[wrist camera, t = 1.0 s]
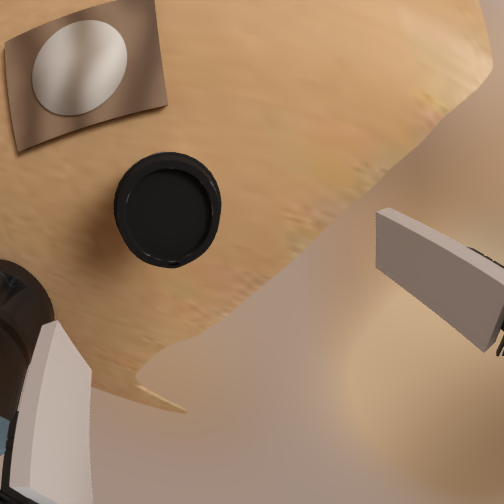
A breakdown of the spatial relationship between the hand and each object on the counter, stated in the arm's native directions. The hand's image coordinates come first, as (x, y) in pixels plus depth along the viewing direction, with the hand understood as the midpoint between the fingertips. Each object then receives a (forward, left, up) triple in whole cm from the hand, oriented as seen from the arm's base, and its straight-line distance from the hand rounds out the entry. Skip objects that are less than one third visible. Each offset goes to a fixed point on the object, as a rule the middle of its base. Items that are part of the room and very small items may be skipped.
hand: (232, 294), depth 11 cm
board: (-9, +15, -26) cm, 31 cm away
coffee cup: (-2, 0, -26) cm, 26 cm away
